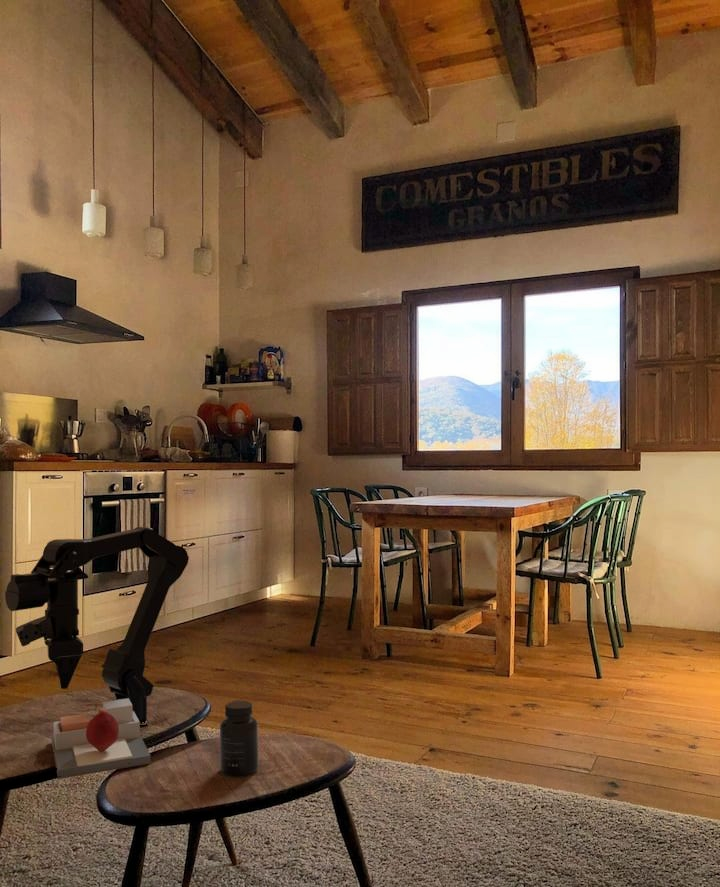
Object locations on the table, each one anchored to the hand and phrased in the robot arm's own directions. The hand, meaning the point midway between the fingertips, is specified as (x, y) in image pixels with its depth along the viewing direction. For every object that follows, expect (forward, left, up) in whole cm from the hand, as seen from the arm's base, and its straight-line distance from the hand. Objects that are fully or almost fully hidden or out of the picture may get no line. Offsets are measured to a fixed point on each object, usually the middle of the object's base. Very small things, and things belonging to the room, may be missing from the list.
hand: (62, 682), depth 156 cm
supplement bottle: (-28, +28, -12) cm, 41 cm away
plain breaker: (-10, +4, -8) cm, 14 cm away
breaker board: (-6, +8, -12) cm, 16 cm away
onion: (-6, +13, -10) cm, 18 cm away
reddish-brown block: (-2, +4, -10) cm, 11 cm away
